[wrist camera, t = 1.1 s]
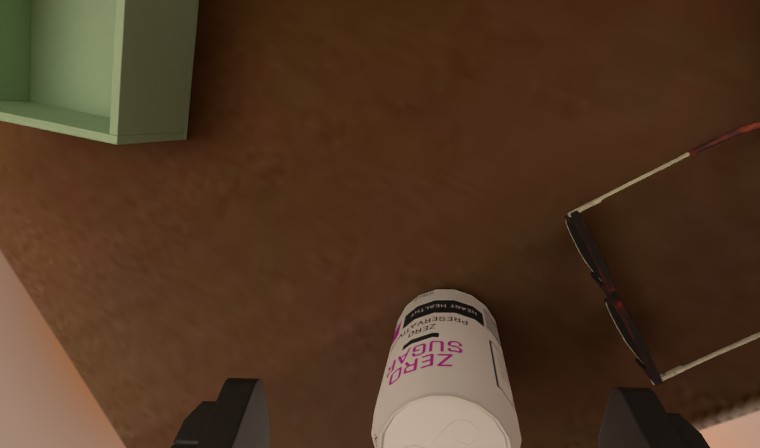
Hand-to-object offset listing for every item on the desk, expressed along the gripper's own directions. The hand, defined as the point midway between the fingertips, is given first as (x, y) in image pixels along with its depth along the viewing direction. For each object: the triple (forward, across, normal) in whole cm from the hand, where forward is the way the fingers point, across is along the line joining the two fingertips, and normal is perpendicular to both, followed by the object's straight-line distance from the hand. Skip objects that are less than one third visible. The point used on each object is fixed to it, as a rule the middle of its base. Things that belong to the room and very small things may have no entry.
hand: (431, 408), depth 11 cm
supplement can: (+24, -3, +17) cm, 30 cm away
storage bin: (+32, +24, -6) cm, 41 cm away
